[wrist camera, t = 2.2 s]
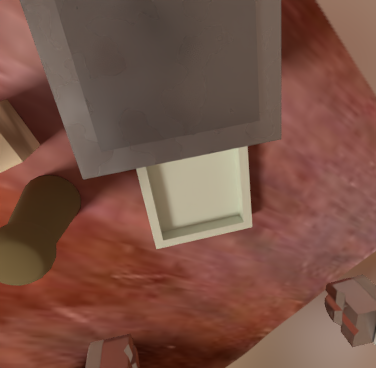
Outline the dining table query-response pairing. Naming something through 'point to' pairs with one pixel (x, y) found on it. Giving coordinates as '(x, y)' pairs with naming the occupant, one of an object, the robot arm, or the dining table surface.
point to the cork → (36, 229)
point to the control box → (160, 77)
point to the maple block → (14, 138)
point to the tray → (197, 196)
